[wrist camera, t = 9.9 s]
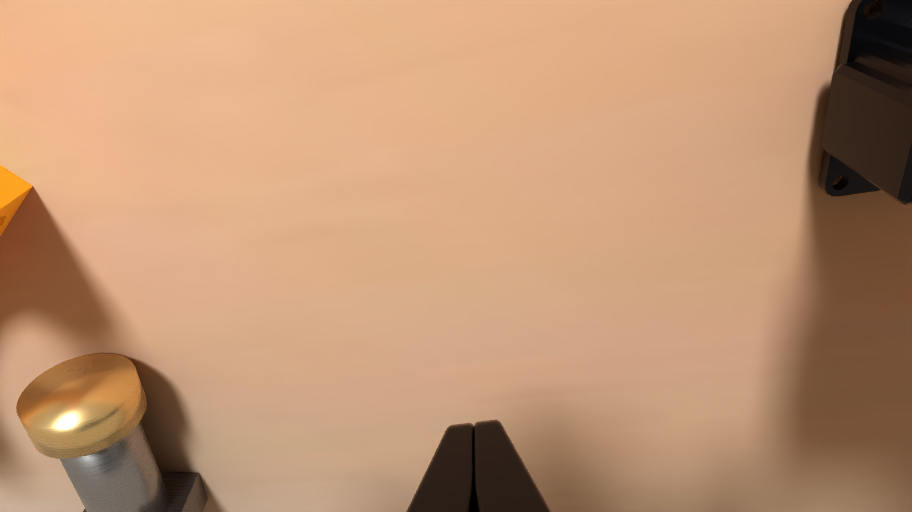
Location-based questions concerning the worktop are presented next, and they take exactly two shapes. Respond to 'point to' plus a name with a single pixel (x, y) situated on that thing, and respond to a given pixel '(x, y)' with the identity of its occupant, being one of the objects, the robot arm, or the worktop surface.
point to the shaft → (103, 437)
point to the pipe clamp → (10, 195)
